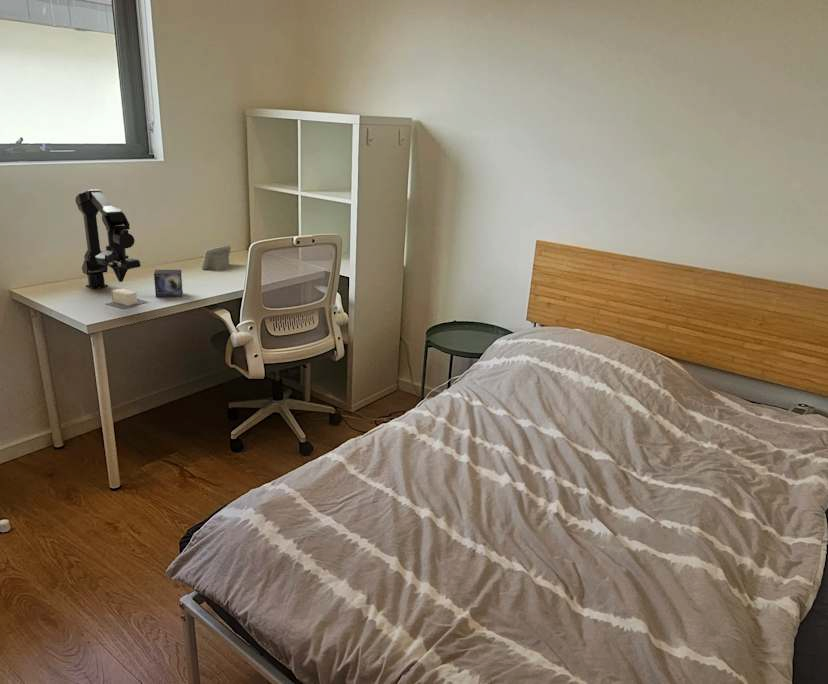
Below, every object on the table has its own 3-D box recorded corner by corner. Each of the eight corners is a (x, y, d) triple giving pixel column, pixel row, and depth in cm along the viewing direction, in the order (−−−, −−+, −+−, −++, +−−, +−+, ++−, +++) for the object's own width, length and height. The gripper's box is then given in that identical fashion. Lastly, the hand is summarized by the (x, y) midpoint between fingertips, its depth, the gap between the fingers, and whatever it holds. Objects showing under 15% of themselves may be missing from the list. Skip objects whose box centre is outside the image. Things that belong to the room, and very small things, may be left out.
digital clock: (225, 263, 314) (225, 243, 310) (236, 267, 309) (235, 246, 305) (197, 268, 302) (196, 247, 298) (208, 272, 297) (207, 250, 293)
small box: (155, 297, 255) (153, 273, 251) (156, 293, 260) (154, 269, 257) (182, 297, 258) (180, 273, 254) (183, 292, 263) (181, 269, 260)
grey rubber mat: (105, 304, 243) (105, 303, 243) (131, 297, 253) (131, 297, 253) (122, 309, 238) (122, 308, 238) (148, 302, 248) (148, 301, 248)
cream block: (111, 290, 244) (126, 294, 241) (121, 288, 248) (136, 292, 244) (112, 301, 246) (127, 305, 242) (122, 298, 250) (137, 303, 246)
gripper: (82, 242, 235) (87, 281, 241) (114, 250, 227) (118, 290, 233) (107, 238, 245) (112, 276, 250) (139, 245, 237) (143, 284, 242)
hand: (120, 281), depth 244 cm, fingers closed
